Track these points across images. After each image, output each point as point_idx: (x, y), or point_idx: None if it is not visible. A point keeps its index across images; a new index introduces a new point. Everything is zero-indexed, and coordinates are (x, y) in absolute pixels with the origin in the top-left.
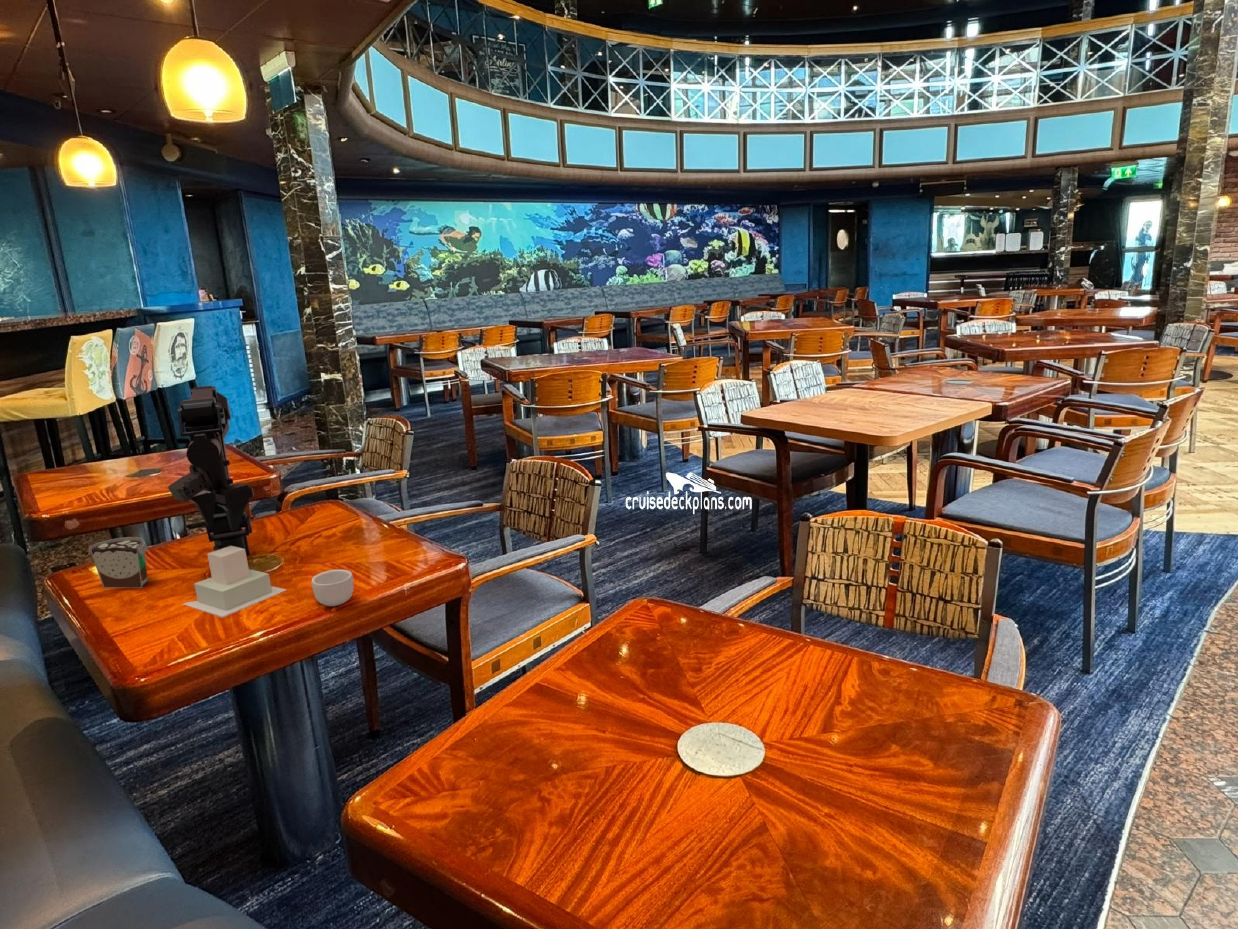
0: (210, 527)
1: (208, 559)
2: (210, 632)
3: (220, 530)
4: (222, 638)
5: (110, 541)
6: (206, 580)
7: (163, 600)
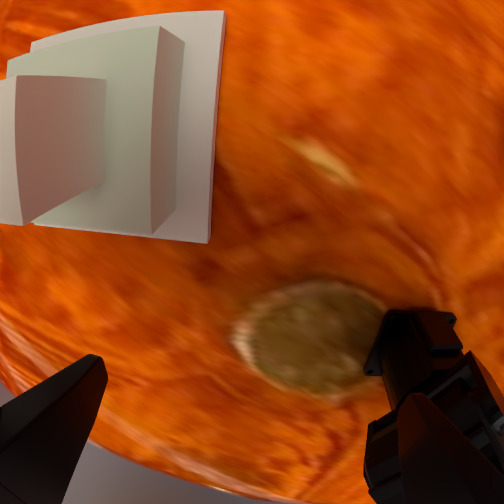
0: (467, 397)
1: (40, 75)
2: (43, 10)
3: (433, 403)
4: (9, 22)
5: None
6: (138, 69)
7: (379, 46)
